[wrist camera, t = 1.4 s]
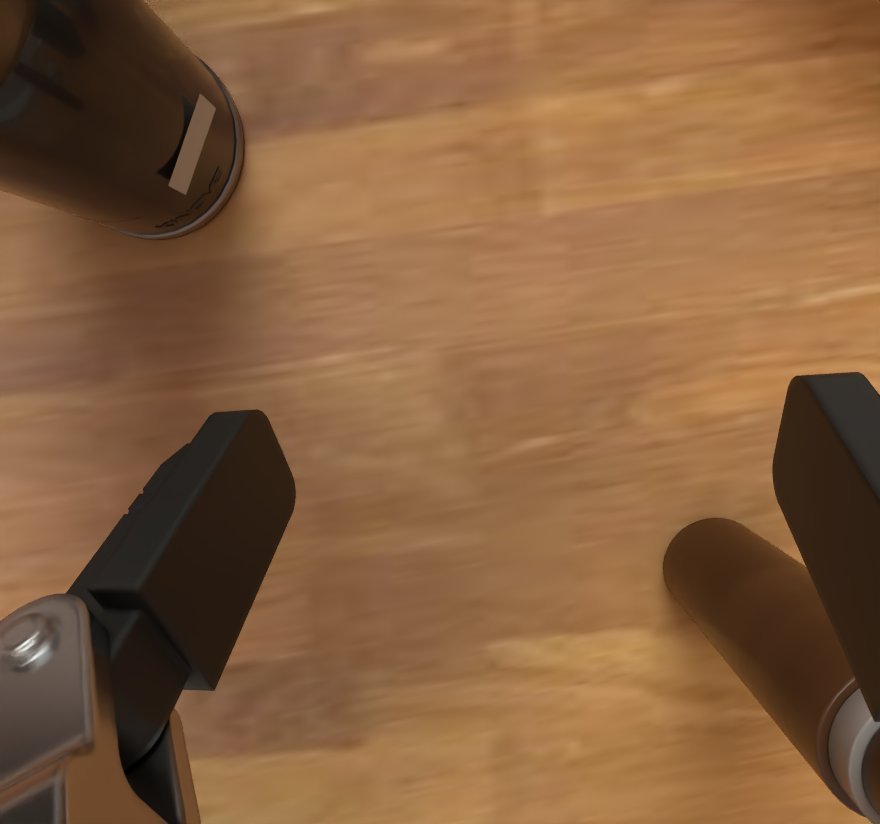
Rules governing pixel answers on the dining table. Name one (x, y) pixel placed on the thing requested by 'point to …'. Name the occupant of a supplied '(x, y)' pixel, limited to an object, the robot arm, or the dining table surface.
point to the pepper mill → (780, 650)
